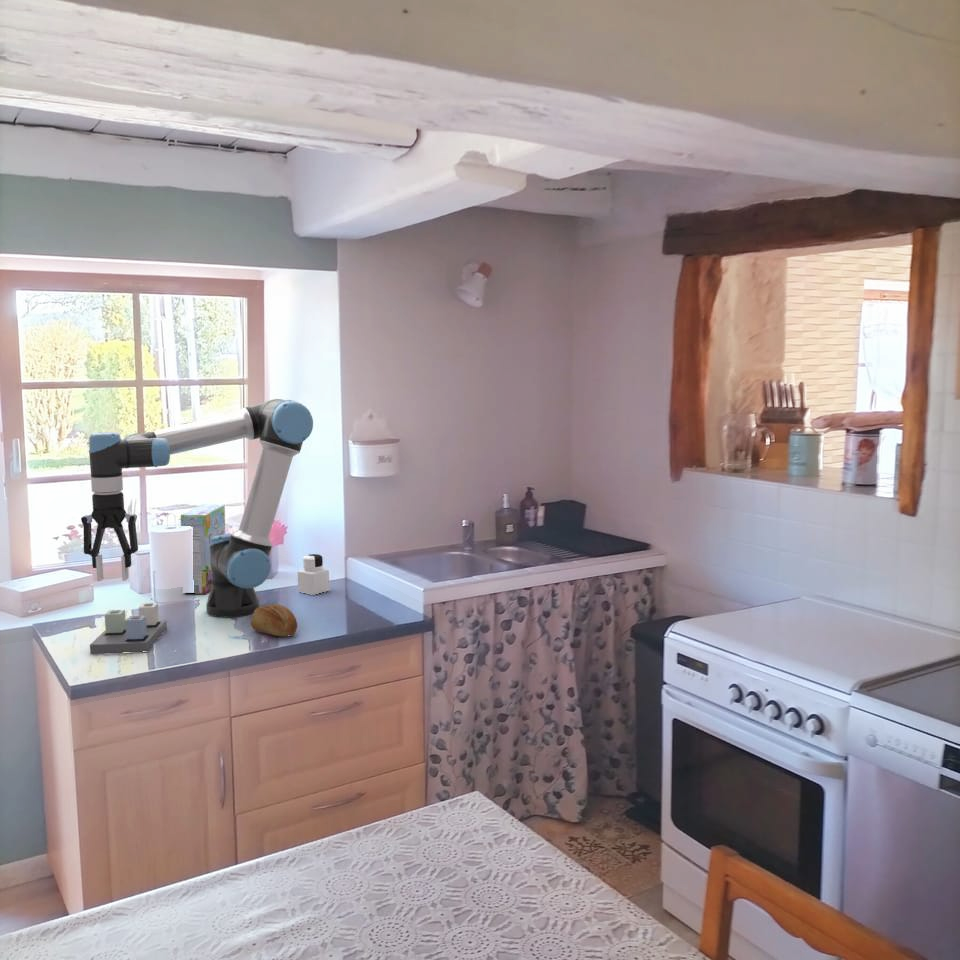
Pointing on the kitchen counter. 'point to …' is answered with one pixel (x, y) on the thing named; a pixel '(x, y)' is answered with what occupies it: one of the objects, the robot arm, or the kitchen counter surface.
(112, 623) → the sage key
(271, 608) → the bread roll
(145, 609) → the ivory key
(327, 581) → the stacked cream blocks
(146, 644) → the keypad board
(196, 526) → the snack box
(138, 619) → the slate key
